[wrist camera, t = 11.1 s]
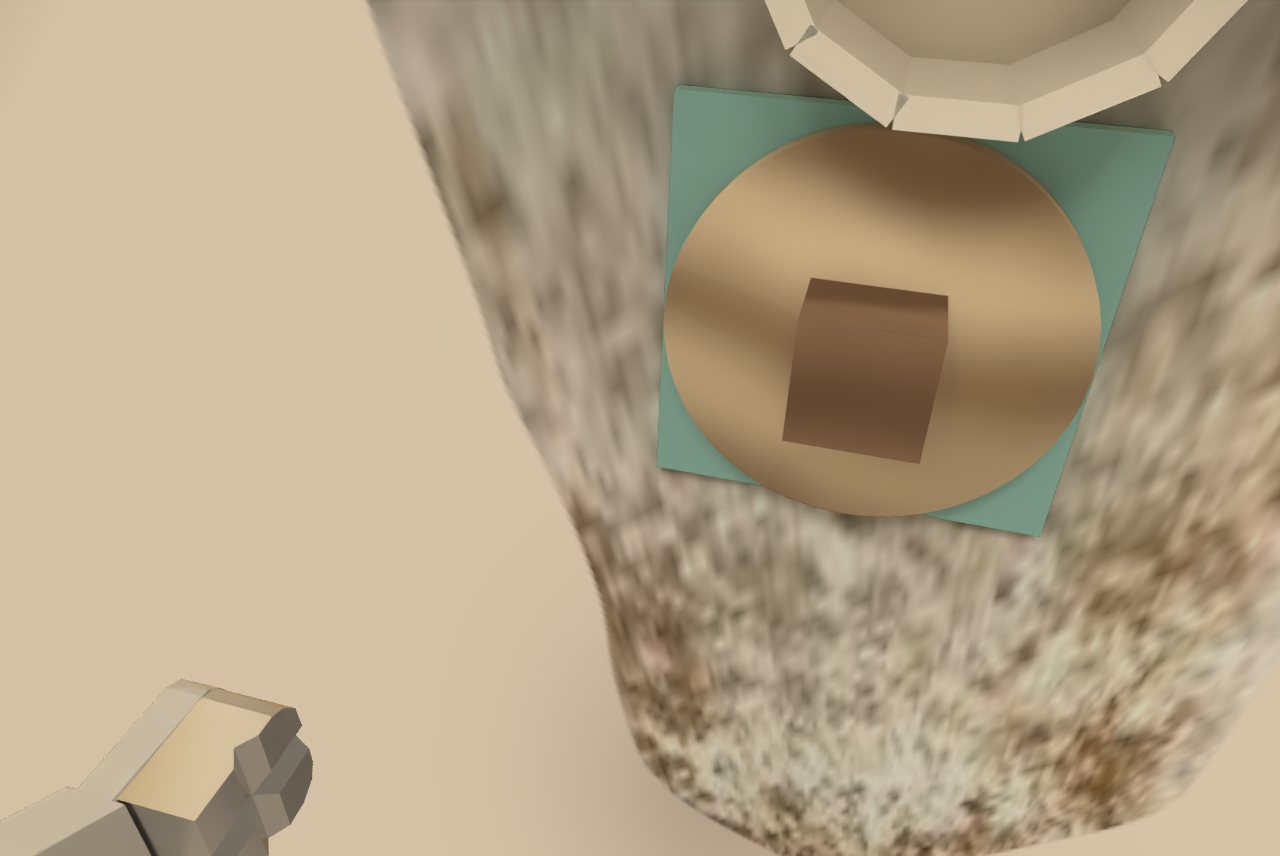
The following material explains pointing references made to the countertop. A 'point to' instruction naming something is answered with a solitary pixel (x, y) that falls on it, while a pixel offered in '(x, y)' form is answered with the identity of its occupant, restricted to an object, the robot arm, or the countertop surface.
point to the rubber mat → (1060, 159)
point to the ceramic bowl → (994, 57)
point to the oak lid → (882, 320)
